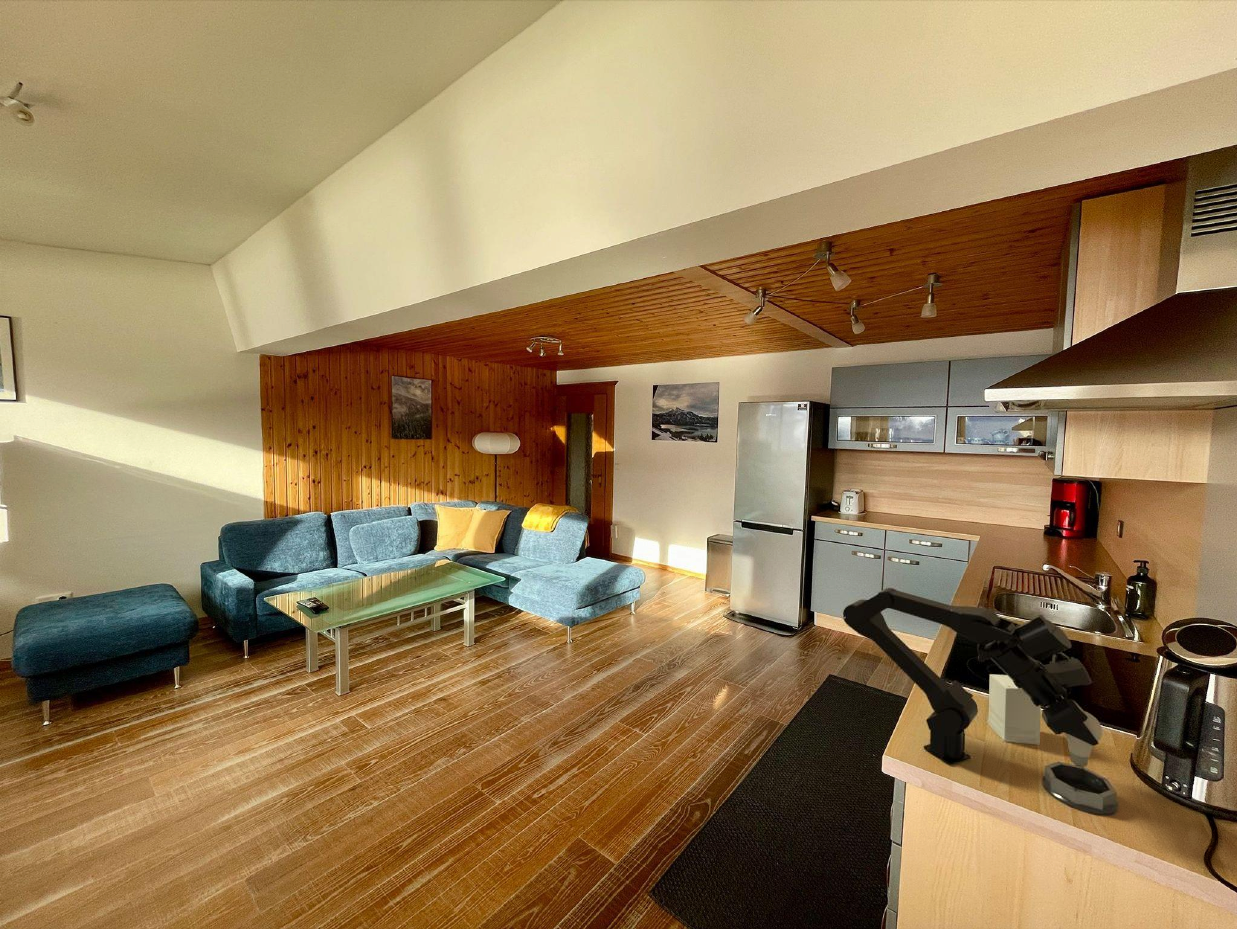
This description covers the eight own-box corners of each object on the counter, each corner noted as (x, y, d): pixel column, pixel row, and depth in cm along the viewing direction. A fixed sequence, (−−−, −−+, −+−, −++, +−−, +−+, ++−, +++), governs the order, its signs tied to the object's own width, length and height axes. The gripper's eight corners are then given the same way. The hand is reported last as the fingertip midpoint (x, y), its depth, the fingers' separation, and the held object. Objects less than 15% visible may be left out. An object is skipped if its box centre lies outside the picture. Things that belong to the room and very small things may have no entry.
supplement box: (1041, 745, 115) (1042, 690, 114) (1003, 742, 116) (1005, 688, 116) (1022, 727, 122) (1023, 675, 121) (987, 724, 124) (988, 673, 123)
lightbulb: (1056, 766, 99) (1059, 711, 99) (1059, 751, 104) (1062, 699, 103) (1099, 781, 95) (1102, 724, 94) (1100, 765, 99) (1103, 711, 99)
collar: (1094, 821, 92) (1095, 804, 92) (1028, 783, 103) (1029, 767, 103) (1132, 806, 96) (1133, 790, 96) (1064, 770, 106) (1065, 755, 106)
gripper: (1075, 664, 91) (1155, 741, 87) (1044, 628, 108) (1110, 690, 104) (1018, 697, 95) (1092, 771, 91) (997, 657, 112) (1059, 718, 108)
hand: (1089, 735), depth 98 cm, fingers closed on lightbulb, 6 cm apart
